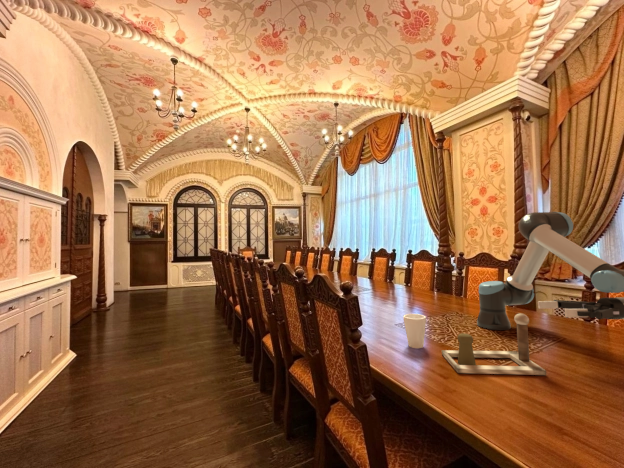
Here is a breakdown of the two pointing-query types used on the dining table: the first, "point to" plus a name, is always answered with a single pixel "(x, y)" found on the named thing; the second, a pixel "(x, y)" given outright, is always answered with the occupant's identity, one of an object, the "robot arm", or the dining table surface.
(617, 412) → the dining table surface
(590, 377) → the dining table surface
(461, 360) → the cork
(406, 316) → the foam cup
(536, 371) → the joystick on frame
